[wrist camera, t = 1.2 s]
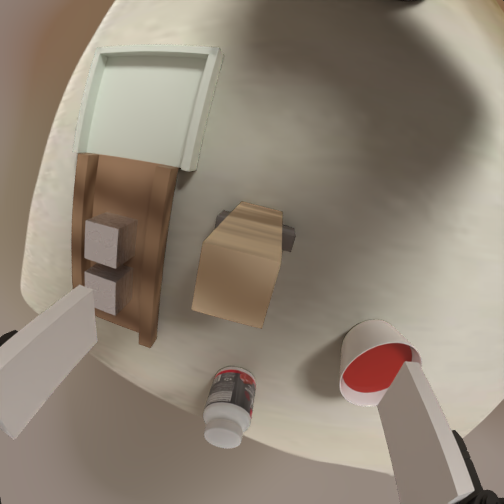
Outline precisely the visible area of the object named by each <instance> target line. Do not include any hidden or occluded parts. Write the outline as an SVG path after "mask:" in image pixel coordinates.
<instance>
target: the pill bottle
mask: <svg viewBox="0 0 504 504" xmlns="http://www.w3.org/2000/svg"><path fill="white" fill-rule="evenodd" d="M255 390H256V380H255V378H254V376H253V375H252V374H251V373H250V372H248V371H247V370H245V369H243V368H239V367H226V368H223V369H221V370H220V371H218V372H217V374H216V376H215V378H214V381H213V384H212V387H211V390H210V393H209V396H208V400H207V403H206V406H205V409H204V412H203V419H204V422H205V424H206V427H205V432H204V437H205V439H206V440H207V441H208V442H209V443H210V444H212V445H214V446H217V447H221V448H234V447H237V446H239V445H240V443H241V441H242V437H243V432H245V431H246V430H247V429H248V428H249V426H250V424H251V418H252V411H253V403H254V397H255Z"/></svg>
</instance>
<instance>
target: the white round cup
mask: <svg viewBox="0 0 504 504" xmlns="http://www.w3.org/2000/svg"><path fill="white" fill-rule="evenodd" d="M405 361H407V362H417V363H419V364H420V366H421V368H422V359H421V355H420V353H419V352H418V350H417V349H416V348H415V347H414V346H413V345H412V344H411V343H410V342H409V341H408V340H407V339H406V338H405V337H404V336H403V335H402V334H401V333H400V332H399V331H398V330H397V329H396V328H395V327H393V326H392V325H391V324H390V323H388V322H386V321H384V320H379V319H373V320H367V321H364V322H362V323H360V324H358V325H356V326H355V327H353V328H352V329H351V330H350V331H349V332H348V333H347V335H346V336H345V338H344V340H343V343H342V347H341V362H340V380H339V387H340V392H341V394H342V396H343V397H344V398H345V399H346V400H347V401H348V402H350V403H352V404H354V405H358V406H364V407H371V406H377V405H378V403H379V402H380V401H381V399H382V398H383V396H384V394H385V393H386V391H387V390H388V388H389V387H390V385H391V383H392V382H393V380H394V379H395V377H396V375H397V374H398V372H399V370H400V369H401V367H402V365H403V363H404V362H405Z"/></svg>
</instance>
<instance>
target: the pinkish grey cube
mask: <svg viewBox="0 0 504 504" xmlns="http://www.w3.org/2000/svg"><path fill="white" fill-rule="evenodd" d="M132 285H133V268H132V267H129V266H125V265H121V266H119V267H118V268H116V269H115V268H112V267H109V266H106V265H103V264H100V263H97V264H95V265H94V266H92V267H90V268H89V269H87V270H86V271H85V287H87V288H90V289H93V294H94V308H97V309H99V310H102V311H104V312H107V313H109V314H112V315H115V316H116V315H117V314H118V313H119V312H120V311H121V310H122V309H123V308H124V307H125V306H126V305H127V304H128V302H129V301H130V300H131V299H132Z"/></svg>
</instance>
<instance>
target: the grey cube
mask: <svg viewBox="0 0 504 504" xmlns="http://www.w3.org/2000/svg"><path fill="white" fill-rule="evenodd" d="M137 224H138V220H137V219H133V218H129V217H125V216H121V215H117V214H113V213H109V212H106V213H103V214H100V215H98V216H95V217H92V218H90V219H87V220H86V222H85V254H84V258H86V259H88V260H91V261H94V262H97V263H100V264H103V265H106V266H109V267H112V268H115V269H116V268H118V267H119V266H121V265H122V264H123V263H125V262H126V261H127V260H129V259H130V258H132V257H133V256H134V255H135V244H136V233H137Z"/></svg>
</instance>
